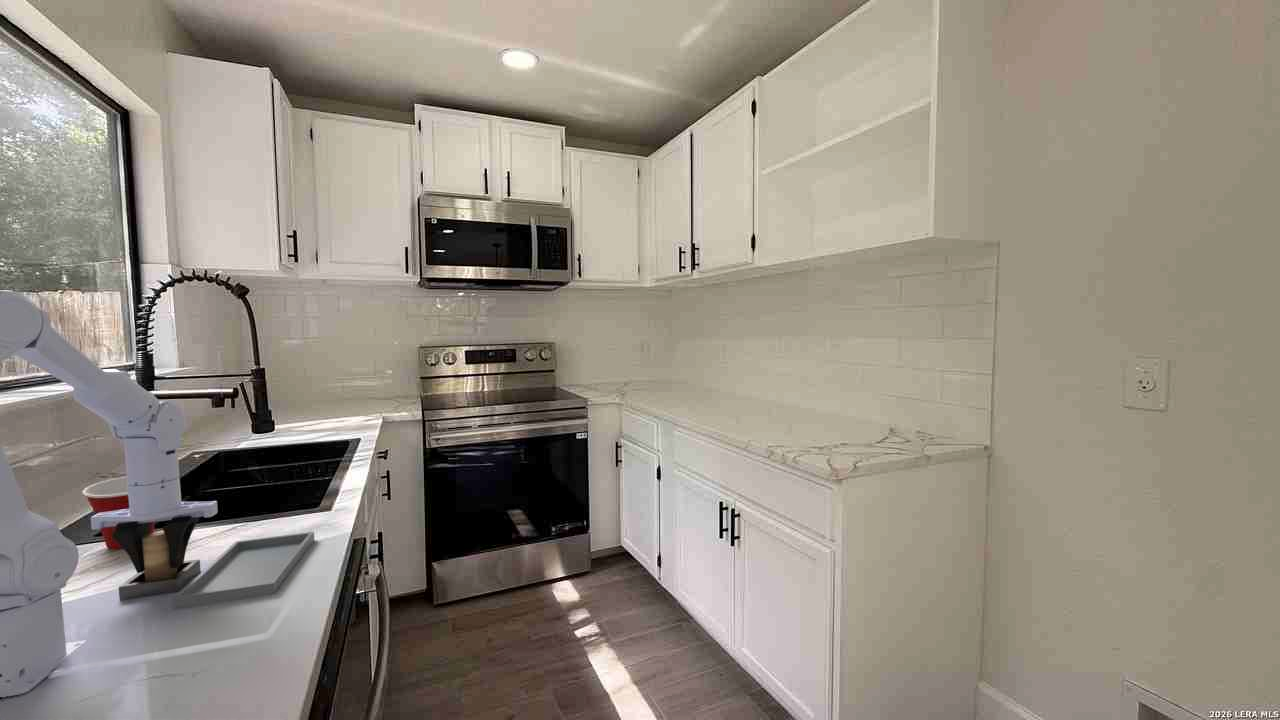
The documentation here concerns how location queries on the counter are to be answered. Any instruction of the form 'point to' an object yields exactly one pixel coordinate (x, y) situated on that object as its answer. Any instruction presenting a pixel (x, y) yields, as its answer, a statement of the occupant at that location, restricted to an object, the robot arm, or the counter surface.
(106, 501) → the plastic cup
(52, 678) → the counter surface
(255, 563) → the slate tray
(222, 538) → the counter surface
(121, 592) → the pin holder
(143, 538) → the oak dowel
